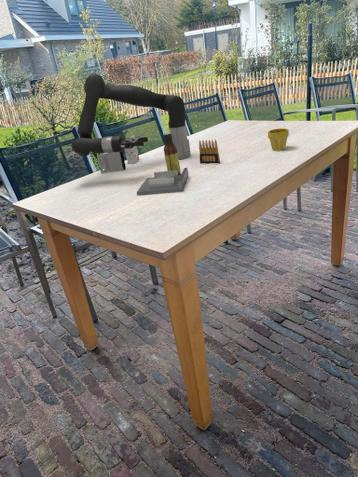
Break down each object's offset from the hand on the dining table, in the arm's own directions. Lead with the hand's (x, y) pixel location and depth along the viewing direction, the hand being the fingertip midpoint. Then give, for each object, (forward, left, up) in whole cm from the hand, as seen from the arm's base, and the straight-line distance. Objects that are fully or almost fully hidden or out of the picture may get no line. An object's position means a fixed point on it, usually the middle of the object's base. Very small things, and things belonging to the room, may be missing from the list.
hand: (145, 141), depth 173 cm
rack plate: (+2, +19, -17) cm, 26 cm away
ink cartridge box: (-5, -40, -18) cm, 44 cm away
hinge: (+11, -30, -18) cm, 37 cm away
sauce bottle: (-9, +7, -18) cm, 21 cm away
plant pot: (-68, +13, -18) cm, 72 cm away
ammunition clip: (-31, +4, -18) cm, 36 cm away
